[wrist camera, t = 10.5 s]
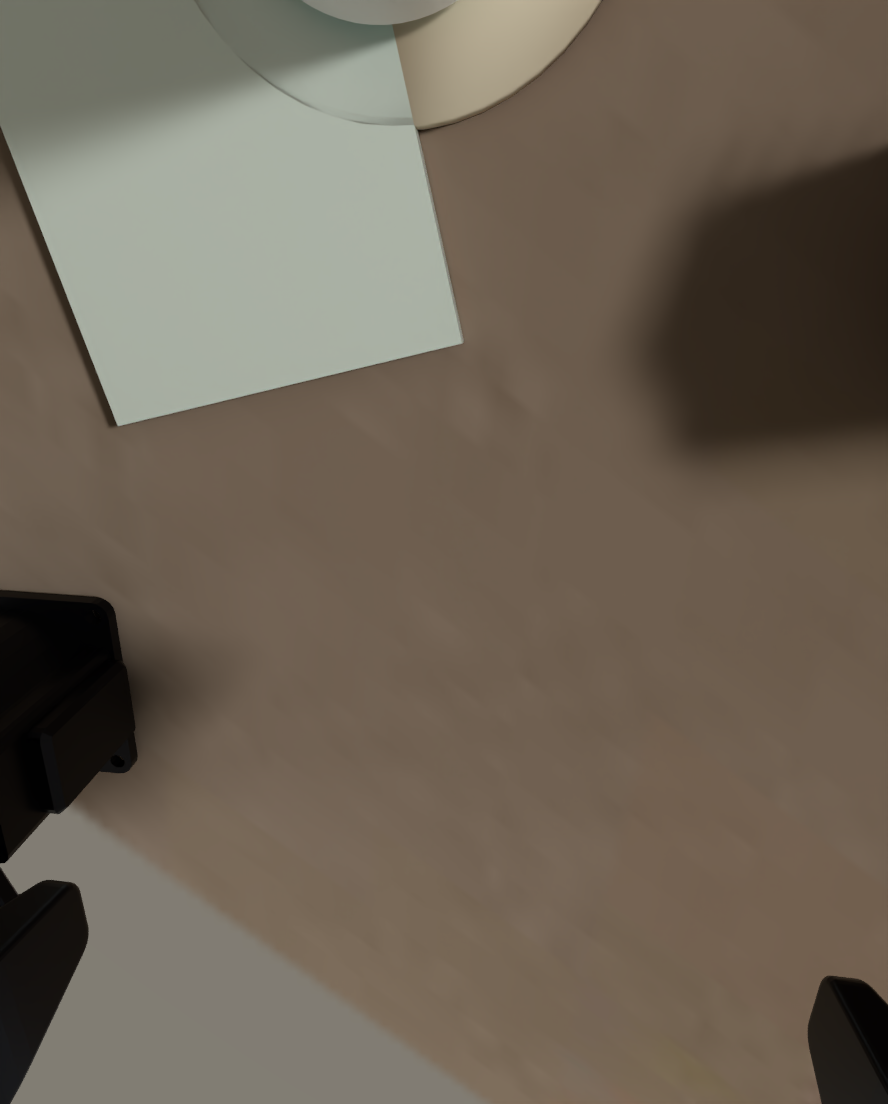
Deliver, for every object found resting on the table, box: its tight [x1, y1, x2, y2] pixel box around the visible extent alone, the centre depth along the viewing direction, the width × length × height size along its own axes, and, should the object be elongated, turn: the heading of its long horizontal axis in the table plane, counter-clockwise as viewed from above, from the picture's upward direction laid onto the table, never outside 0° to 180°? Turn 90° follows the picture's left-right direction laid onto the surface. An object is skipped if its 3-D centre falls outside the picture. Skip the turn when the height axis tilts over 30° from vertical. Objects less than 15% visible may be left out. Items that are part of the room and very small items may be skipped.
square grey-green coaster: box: [0, 0, 464, 426], centre depth 18 cm, size 10×10×1 cm
